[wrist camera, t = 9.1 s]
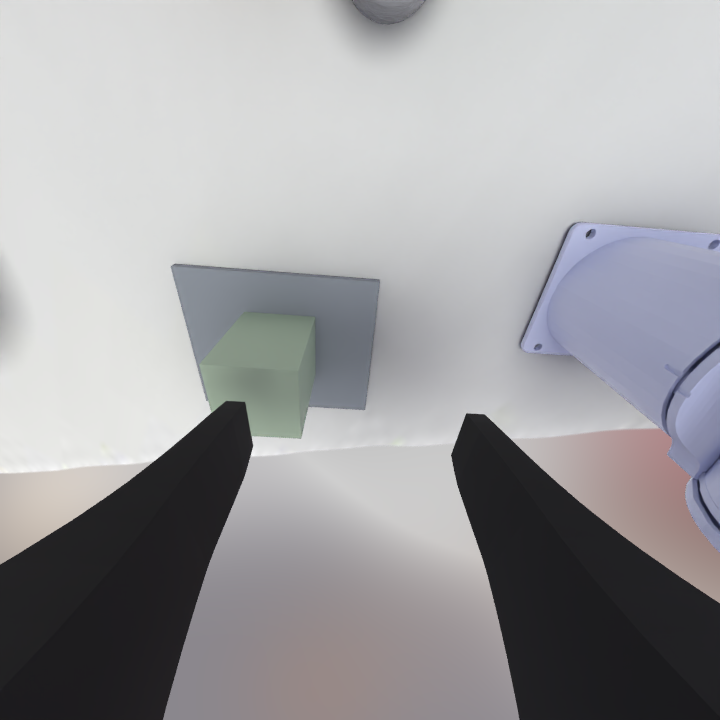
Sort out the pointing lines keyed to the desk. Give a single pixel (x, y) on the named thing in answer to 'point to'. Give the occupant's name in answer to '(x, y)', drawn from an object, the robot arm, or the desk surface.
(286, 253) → the desk surface
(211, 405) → the green block
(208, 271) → the mat
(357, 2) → the metal cylinder
